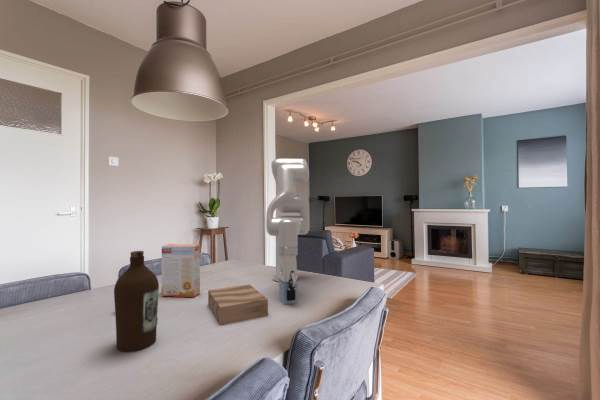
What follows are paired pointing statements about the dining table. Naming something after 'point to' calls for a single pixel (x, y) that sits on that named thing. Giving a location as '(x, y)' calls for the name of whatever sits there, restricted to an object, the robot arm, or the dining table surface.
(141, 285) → the olive oil
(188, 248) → the cracker box
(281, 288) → the blue block
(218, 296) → the riser block
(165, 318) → the dining table surface
